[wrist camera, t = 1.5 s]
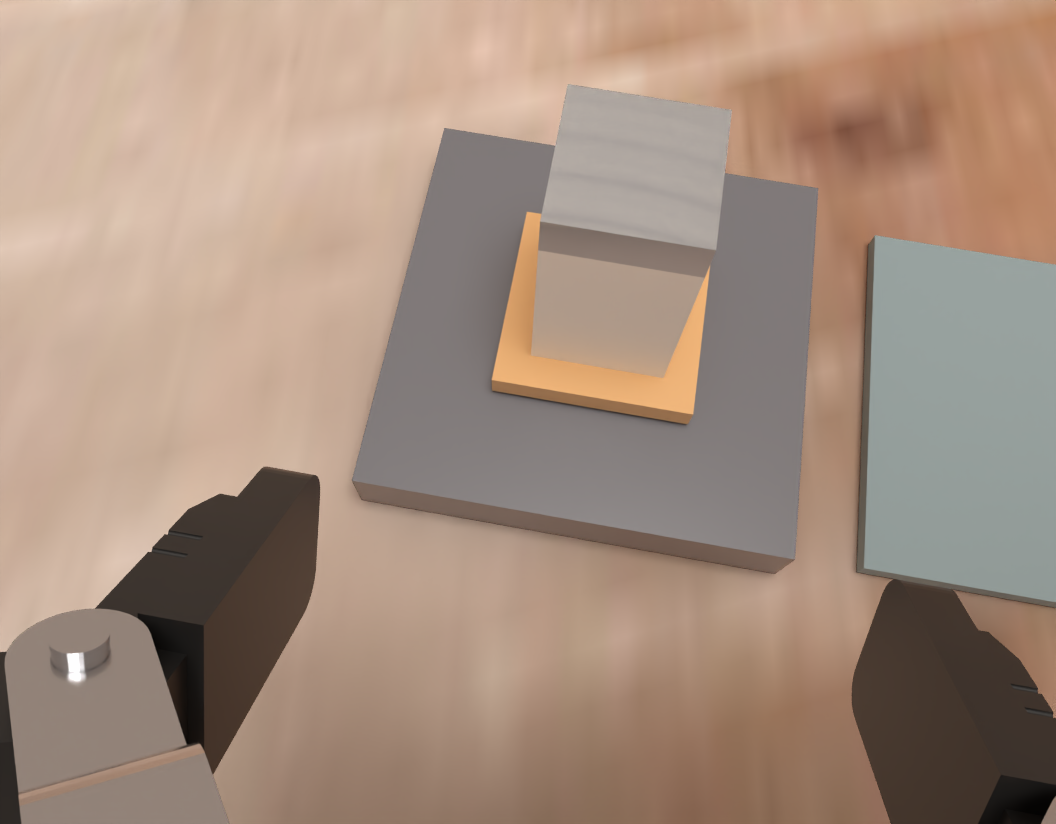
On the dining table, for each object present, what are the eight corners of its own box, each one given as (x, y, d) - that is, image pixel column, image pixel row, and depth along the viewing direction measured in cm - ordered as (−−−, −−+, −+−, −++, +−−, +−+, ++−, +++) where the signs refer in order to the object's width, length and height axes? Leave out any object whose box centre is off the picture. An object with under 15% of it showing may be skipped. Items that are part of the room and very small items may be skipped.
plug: (693, 289, 31) (776, 84, 22) (674, 448, 29) (757, 296, 19) (524, 261, 31) (534, 46, 22) (492, 416, 29) (488, 251, 20)
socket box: (799, 221, 32) (818, 188, 30) (775, 573, 27) (795, 559, 25) (447, 164, 32) (444, 128, 31) (362, 499, 28) (351, 480, 26)
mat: (1207, 300, 31) (1220, 291, 31) (1252, 642, 27) (1268, 640, 26) (868, 244, 32) (875, 235, 31) (856, 572, 27) (864, 568, 27)
